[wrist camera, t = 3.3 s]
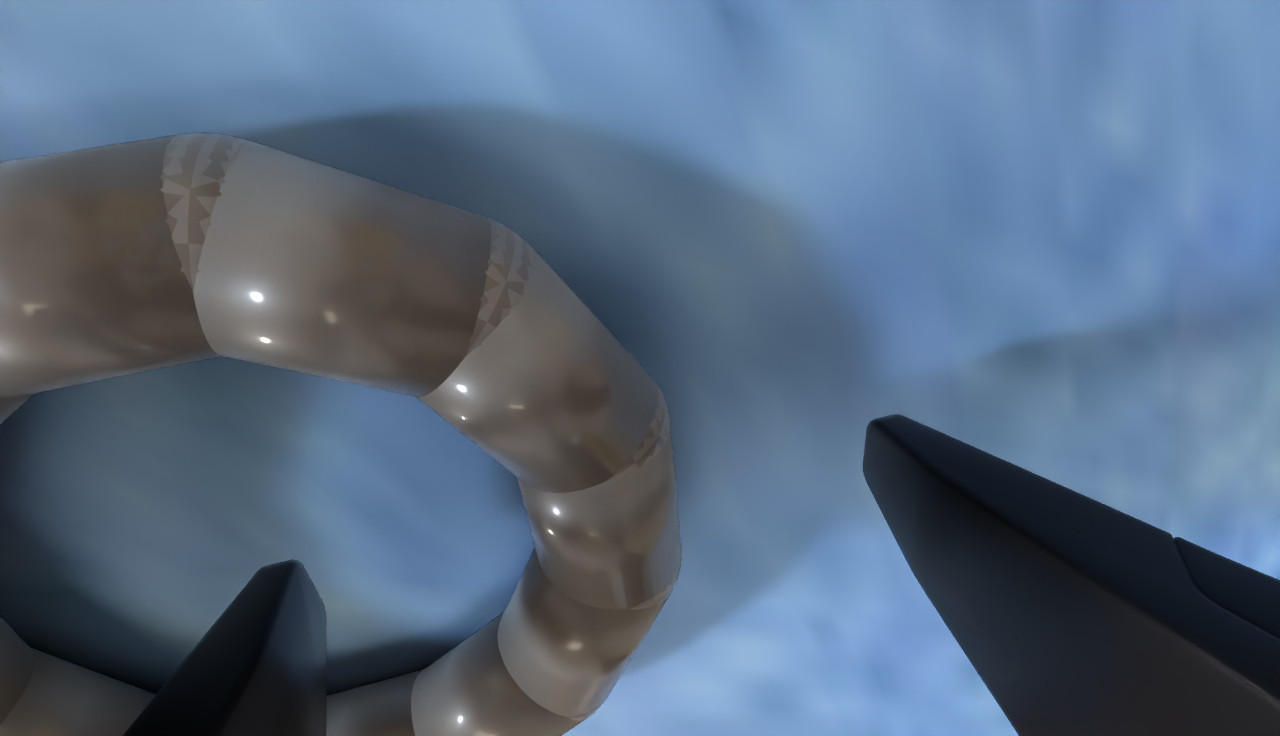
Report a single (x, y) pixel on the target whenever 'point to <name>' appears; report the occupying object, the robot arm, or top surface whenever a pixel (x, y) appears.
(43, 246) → the grey-brown segmented ring
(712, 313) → the top surface
